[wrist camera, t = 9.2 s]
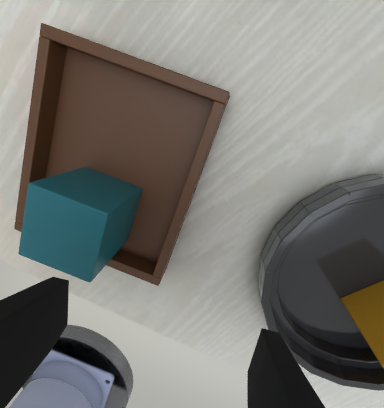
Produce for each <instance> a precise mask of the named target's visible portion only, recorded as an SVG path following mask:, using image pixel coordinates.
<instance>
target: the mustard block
mask: <svg viewBox="0 0 384 408" xmlns="http://www.w3.org/2000/svg"><path fill="white" fill-rule="evenodd" d="M341 301H342V303H343V304H344V306H345V308H346V309H347V311H348V312H349V314H350V316H351V317H352V319H353V320H354V322H355V324H356V325H357V327H358V329H359V330H360V332H361V333H362V335H363V337H364V338H365V340H366V341H367V343H368V345H369V346H370V348H371V349H372V351H373V353H374V354H375V356H376V357H377V359H378V361H379V362H380V364H381V365H382V367H383V369H384V280H383V281H381V282H378V283H376V284H373V285H371V286H369V287H366V288H364V289H361V290H359V291H357V292H354V293H352V294H349V295H347V296H345V297H342V298H341Z"/></svg>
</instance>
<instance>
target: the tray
mask: <svg viewBox="0 0 384 408" xmlns="http://www.w3.org/2000/svg"><path fill="white" fill-rule="evenodd" d="M229 97H230V96H229V92H228V91H225V90H222V89H220V88H217V87H214V86H212V85H209V84H206V83H203V82H201V81H198V80H195V79H193V78H190V77H187V76H184V75H182V74H179V73H176V72H174V71H171V70H168V69H165V68H163V67H160V66H157V65H155V64H152V63H149V62H146V61H144V60H141V59H138V58H136V57H133V56H130V55H127V54H125V53H122V52H119V51H117V50H114V49H111V48H109V47H106V46H103V45H100V44H98V43H95V42H92V41H90V40H87V39H84V38H81V37H79V36H76V35H73V34H71V33H68V32H65V31H62V30H60V29H57V28H54V27H52V26H49V25H46V24H43V23H41V29H40V37H39V45H38V52H37V60H36V68H35V75H34V83H33V91H32V98H31V106H30V113H29V121H28V129H27V136H26V144H25V152H24V159H23V167H22V174H21V182H20V190H19V197H18V205H17V213H16V222H15V229H16V230H18V231H21V232H22V225H23V218H24V211H25V204H26V197H27V190H28V184H29V183H30V182H34V181H37V180H41V179H44V178H48V177H51V176H55V175H58V174H62V173H65V172H68V171H72V170H75V169H79V168H82V167H88V168H90V169H93V170H96V171H98V172H101V173H104V174H106V175H109V176H111V177H114V178H117V179H119V180H122V181H124V182H127V183H130V184H132V185H135V186H137V187H140V188H142V193H141V196H140V200H139V203H138V207H137V210H136V213H135V217H134V220H133V223H132V227H131V230H130V233H129V237H128V240H127V242H126V243H125V244H124V245H123V246H122V247H121V248H120V250H119V251H118V252H117V253H116V254H115V255H114V256H113V257H112V259H111V260H110V261H109V262H108V263H107V264H106V265H107V266H109V267H112V268H115V269H117V270H120V271H122V272H125V273H127V274H130V275H132V276H135V277H137V278H140V279H142V280H145V281H147V282H150V283H152V284H155V285H157V286H158V285H159V284H160V281H161V279H162V277H163V275H164V273H165V270H166V268H167V265H168V262H169V259H170V257H171V254H172V251H173V249H174V246H175V243H176V241H177V238H178V235H179V232H180V230H181V227H182V224H183V222H184V219H185V216H186V213H187V211H188V208H189V205H190V203H191V200H192V197H193V195H194V192H195V189H196V186H197V184H198V181H199V178H200V176H201V173H202V170H203V168H204V165H205V162H206V159H207V157H208V154H209V151H210V149H211V146H212V143H213V140H214V138H215V135H216V132H217V130H218V127H219V124H220V122H221V119H222V116H223V113H224V111H225V108H226V105H227V103H228V100H229Z"/></svg>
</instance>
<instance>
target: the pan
mask: <svg viewBox="0 0 384 408" xmlns="http://www.w3.org/2000/svg"><path fill="white" fill-rule="evenodd" d="M383 280H384V175H381V174H374V175H372V174H371V175H367V176H363V177H359V178H354V179H350V180H346V181H341V182H337V183H334V184H332V185H330V186H328V187H326V188H324V189H322V190H321V191H319V192H317V193H315V194H313V195H311V196H310V197H308V198H306V199H304V200H302V201H301V202H299V203H298V204H297V205H296V206H295V207H294V208H293V209H292V210H291V211H290V212H289V213H288V214H287V215H286V216H285V217H284V218H283V219H282V220H281V221H280V222H279V223H278V224H277V225H276V226H275V228H274V230H273V232H272V234H271V236H270V238H269V240H268V242H267V244H266V246H265V247H264V249H263V251H262V255H261V260H260V268H259V277H258V285H259V291H260V297H261V303H262V306H263V310H264V314H265V318H266V322H267V326H268V329H269V330H271V331H275V332H279V333H280V334H281V336H282V338H283V339H284V341H285V343H286V344H287V346H288V348H289V350H290V351H291V353H292V355H293V356H294V358H295V360H296V362H297V363H298V364H300V365H301V366H302V367H304V368H305V369H306V370H307V371H309V372H311V373H312V374H315V375H317V376H320V377H322V378H325V379H327V380H330V381H332V382H335V383H337V384H340V385H343V386H350V387H357V388H364V389H371V390H384V369H383V367H382V365H381V364H380V362H379V361H378V359H377V357H376V356H375V354H374V353H373V351H372V349H371V348H370V346H369V345H368V343H367V341H366V340H365V338H364V337H363V335H362V333H361V332H360V330H359V329H358V327H357V325H356V324H355V322H354V320H353V319H352V317H351V316H350V314H349V312H348V311H347V309H346V308H345V306H344V304H343V303H342V301H341V298H342V297H345V296H347V295H349V294H352V293H354V292H357V291H359V290H361V289H364V288H366V287H369V286H371V285H373V284H376V283H378V282H381V281H383Z"/></svg>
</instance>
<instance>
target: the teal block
mask: <svg viewBox="0 0 384 408" xmlns="http://www.w3.org/2000/svg"><path fill="white" fill-rule="evenodd" d="M141 193H142V188H140V187H137V186H135V185H132V184H130V183H127V182H124V181H122V180H119V179H117V178H114V177H111V176H109V175H106V174H104V173H101V172H98V171H96V170H93V169H90V168H88V167H82V168H79V169H75V170H72V171H68V172H65V173H62V174H58V175H55V176H51V177H48V178H44V179H41V180H37V181H34V182H30V183H29V184H28V190H27V197H26V204H25V211H24V218H23V225H22V232H21V239H20V246H19V254H20V255H22V256H25V257H27V258H30V259H32V260H35V261H37V262H40V263H42V264H45V265H47V266H50V267H52V268H55V269H57V270H60V271H62V272H65V273H67V274H70V275H72V276H75V277H77V278H80V279H82V280H85V281H87V282H91V281H92V280H93V279H94V278H95V276H96V275H97V274H98V273H99V272H100V271H101V270H102V269H103V267H104V266H105V265H106V264H107V263H108V262H109V261H110V260H111V259H112V257H113V256H114V255H115V254H116V253H117V252H118V251H119V250H120V248H121V247H122V246H123V245H124V244H125V243H126V242H127V240H128V237H129V233H130V230H131V227H132V223H133V220H134V217H135V213H136V210H137V207H138V203H139V200H140V196H141Z"/></svg>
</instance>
